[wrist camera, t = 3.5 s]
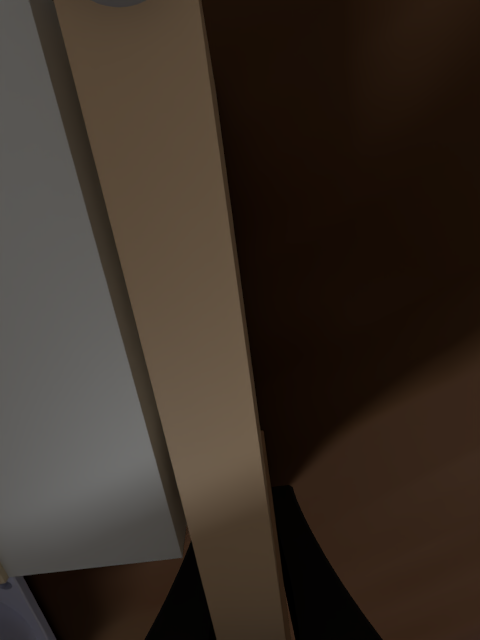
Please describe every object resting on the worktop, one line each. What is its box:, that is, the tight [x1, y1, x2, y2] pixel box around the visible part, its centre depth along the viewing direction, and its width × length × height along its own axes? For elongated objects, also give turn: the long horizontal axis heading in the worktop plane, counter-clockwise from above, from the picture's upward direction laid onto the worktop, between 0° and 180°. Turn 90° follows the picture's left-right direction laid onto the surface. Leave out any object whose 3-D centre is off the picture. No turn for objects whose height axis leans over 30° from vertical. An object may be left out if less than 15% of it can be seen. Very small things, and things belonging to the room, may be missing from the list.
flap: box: [54, 0, 291, 640], centre depth 8 cm, size 15×1×7 cm, turn 7°
